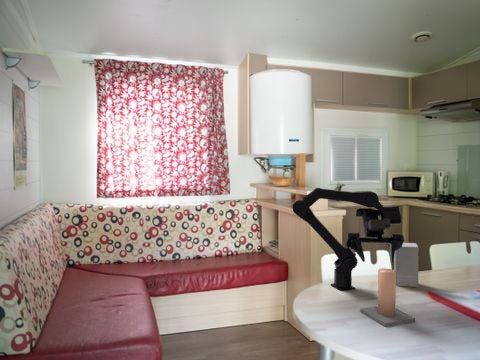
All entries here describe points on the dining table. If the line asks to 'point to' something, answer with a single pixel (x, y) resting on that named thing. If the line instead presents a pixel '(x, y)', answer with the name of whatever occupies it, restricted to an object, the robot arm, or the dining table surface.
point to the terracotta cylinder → (386, 292)
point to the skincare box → (406, 265)
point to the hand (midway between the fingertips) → (378, 261)
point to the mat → (387, 317)
